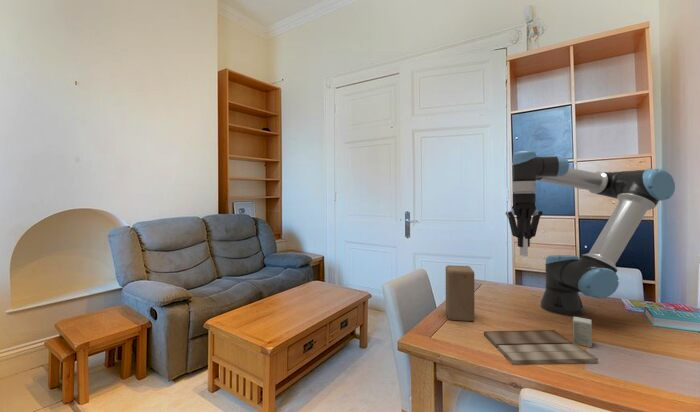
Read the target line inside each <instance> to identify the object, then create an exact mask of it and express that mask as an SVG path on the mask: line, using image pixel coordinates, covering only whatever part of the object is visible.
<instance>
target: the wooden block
mask: <svg viewBox="0 0 700 412" xmlns="http://www.w3.org/2000/svg"><path fill="white" fill-rule="evenodd" d="M445 312H446V316H447V319H448V320H449V321H451V320H452V321H465V322H474V321H475V271H474V270H473V269H472V267H471V266H469V265H450V264H449V265H448V264H447V265H446V266H445Z"/></svg>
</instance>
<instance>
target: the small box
mask: <svg viewBox="0 0 700 412" xmlns="http://www.w3.org/2000/svg"><path fill="white" fill-rule="evenodd" d="M592 326H593V322H592V319H589V318H585V317H579V316H573V317H572V342H573V344H576V345H578V346H579V345H580V346H584V347H589V348H592V347H593V346H592V345H593V343H592V342H593V336H592V335H593V329H592V328H593V327H592Z"/></svg>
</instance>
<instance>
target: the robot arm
mask: <svg viewBox="0 0 700 412" xmlns="http://www.w3.org/2000/svg"><path fill="white" fill-rule="evenodd" d="M511 165H512V192H513V194H512V206H511V209H510V210H509V211H506V212H505V215H506V216H507V218H508V223H509V227H510V230H511V235H512V236H513V237H516V238H517V247H518V248H519V256H522V257H528V255H529V254H528V253H529V252H528V249H529V248H530V246H531V245H530V244H531V240H532V238H535V237H536V233H537V231H538V226H539V222H540V218H541V217H542V215H543V211H541V210H538V209H537V206H536V201H537V200H536V196H537V195H536V193H535V192H536V191H537V190H536V189H537V187H536V183H537V181H538V182H543V183H549V184H555V185H560V186H564V187H570V188H575V189H580V190H587V191H589V193H591V194H595V195H599V196H602V197H603V196H604V197H607V198H611V199H612V198H613V199H617V200H618V203H617V205H616V206H615V208H614V210H613V211H612V213H611V215H610V217H609V218H608V220H607V222H606V223H605V225H604V227H602V230H601V232H600V234H599V235H598V237H597V239H596V240H595V242H594V243H593V245H592V247H591V248H590V250H589V252H588V253H584V254H581V256H580V257H579V256H578V255H570V254H569V255H568V254H567V255H566V254H565V255H563V254H561V255H560V254H556V255H555V254H554V255H553V254H552V255H551V254H550V255H548V256H547V257H546V258H545V289H544V291H543V295H542V298H540V299H541V300H540V307H541V308H542V309H544V310H546V311H548V312H551V313H555V314H559V315H563V316H564V315H565V316H579V315H580V316H581V315H583V314H584V311H585V309H584V304H583V302H582V299H581V297H580V294H583V295H584V296H587V297H591V298H595V299H605V298H608V297H610V296H612V295H614V293H616V291H617V290H618V287H619V284H620V282H619V276H618V274H617V272H618V268H617V266H616V263H618V260H619V259H620V257H621V256H622V253H623V252H624V250H625V249H626V247H627V245H628V244H629V241H630V240H631V238H632V237H633V235H634V234H635V232H636V229H637V228H638V227H639V225H640V223H641V222H642V220H643V218H644V216H645V215H646V214H647V211H651V210H655V208H656V207H657V205H658V204H659V202H660V201H666V200H669V199H670V198H672V197H673V195H674V193H675V192H676V191H675V190H676V183H675V181H674V177H673V176H672V175H671V174H670V172H668V171H667V170H665V169H662V168H647V169H639V170H624V171H623V170H621V171H613V172H612V171H609V172H607V171H601V170H599V171H595V172H594V171H587V170H582V169H578V168H572V167H570V162H569V160H568V159H567V158H566V157H565V156H558V155H555V156H537V153H536V151H535V150H519V151H516V152H514V153H513V155H512V163H511ZM515 216H516V217H515Z"/></svg>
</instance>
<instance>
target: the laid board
mask: <svg viewBox="0 0 700 412" xmlns="http://www.w3.org/2000/svg"><path fill="white" fill-rule="evenodd" d="M497 350H498V352H500V353H501V354H502V355H503V357H505V358H506V360H508V361H509V362H510V363H511V365H553V364H555V365H556V364H557V365H559V364H563V365H564V364H566V365H567V364H598V363H599V358H597V357H596V356H594V355H593V354H591V353H590V352H589V351H587V350H585V349H584V348H583V347H581V346H579V344H574V343H573V344H538V345H498V348H497Z"/></svg>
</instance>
